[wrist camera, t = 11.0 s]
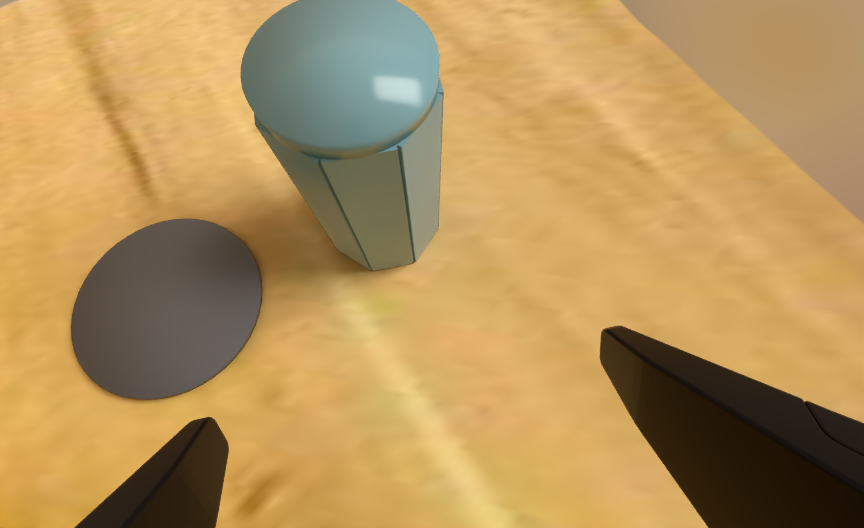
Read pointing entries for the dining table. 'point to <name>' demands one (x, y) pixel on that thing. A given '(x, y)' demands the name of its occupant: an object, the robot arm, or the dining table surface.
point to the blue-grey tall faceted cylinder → (354, 120)
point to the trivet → (166, 309)
